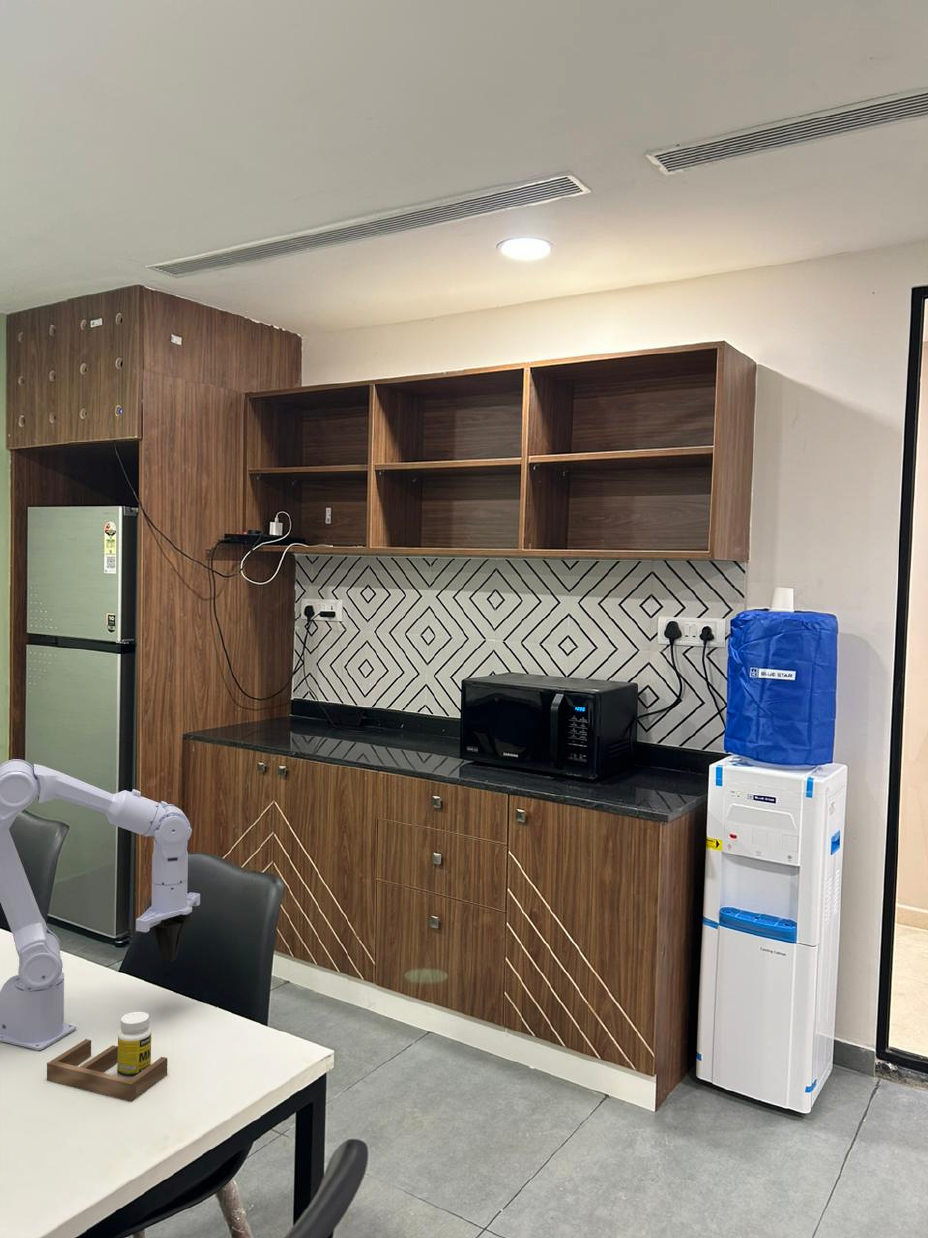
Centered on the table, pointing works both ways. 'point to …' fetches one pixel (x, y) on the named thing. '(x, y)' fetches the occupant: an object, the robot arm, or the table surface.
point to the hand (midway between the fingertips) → (168, 960)
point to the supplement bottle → (134, 1045)
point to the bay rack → (93, 1076)
